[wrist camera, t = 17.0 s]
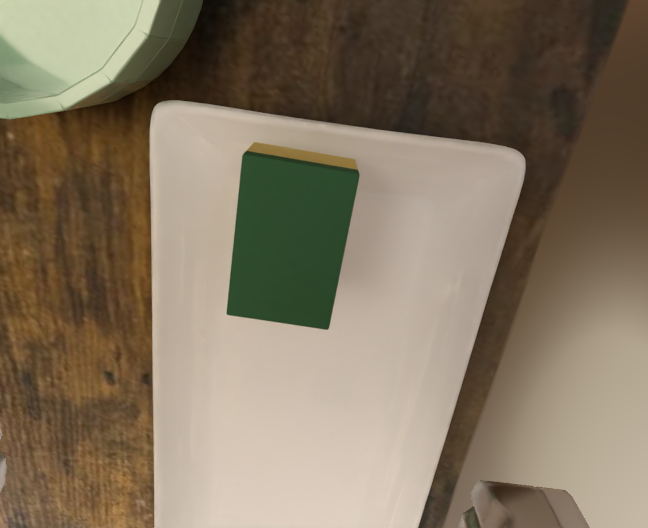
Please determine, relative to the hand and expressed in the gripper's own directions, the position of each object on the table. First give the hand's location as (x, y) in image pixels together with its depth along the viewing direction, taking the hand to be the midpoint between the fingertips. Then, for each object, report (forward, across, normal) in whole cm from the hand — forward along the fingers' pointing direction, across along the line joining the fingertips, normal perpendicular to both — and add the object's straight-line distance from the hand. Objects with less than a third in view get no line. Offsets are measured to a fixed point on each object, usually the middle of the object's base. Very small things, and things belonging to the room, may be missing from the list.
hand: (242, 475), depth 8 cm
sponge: (+15, 0, +1) cm, 15 cm away
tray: (+18, -2, +12) cm, 22 cm away
